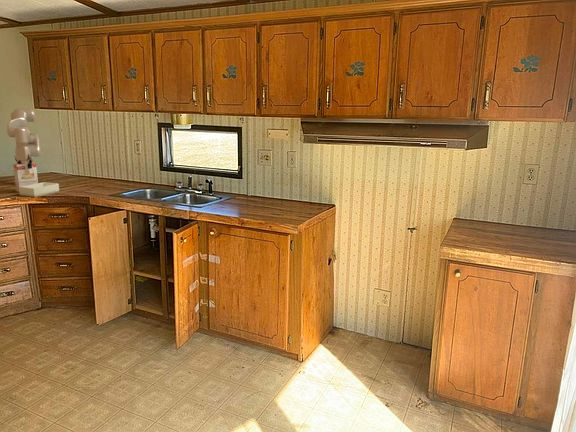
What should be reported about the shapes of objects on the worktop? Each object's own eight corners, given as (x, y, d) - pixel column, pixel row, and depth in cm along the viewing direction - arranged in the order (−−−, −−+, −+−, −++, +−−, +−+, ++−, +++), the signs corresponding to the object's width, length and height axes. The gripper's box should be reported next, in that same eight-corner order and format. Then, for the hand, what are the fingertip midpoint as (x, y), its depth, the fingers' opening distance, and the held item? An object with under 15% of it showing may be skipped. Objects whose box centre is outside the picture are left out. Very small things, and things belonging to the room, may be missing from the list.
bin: (19, 195, 312) (18, 186, 310) (45, 189, 332) (44, 182, 331) (34, 196, 308) (33, 188, 306) (59, 191, 328) (58, 183, 326)
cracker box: (20, 193, 319) (16, 164, 313) (16, 191, 322) (12, 164, 317) (39, 190, 330) (36, 163, 325) (35, 189, 333) (32, 162, 328)
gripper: (8, 144, 316) (11, 168, 320) (26, 145, 311) (29, 169, 315) (17, 144, 323) (20, 167, 327) (35, 145, 318) (38, 168, 322)
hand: (25, 168), depth 321 cm, fingers open, 9 cm apart
